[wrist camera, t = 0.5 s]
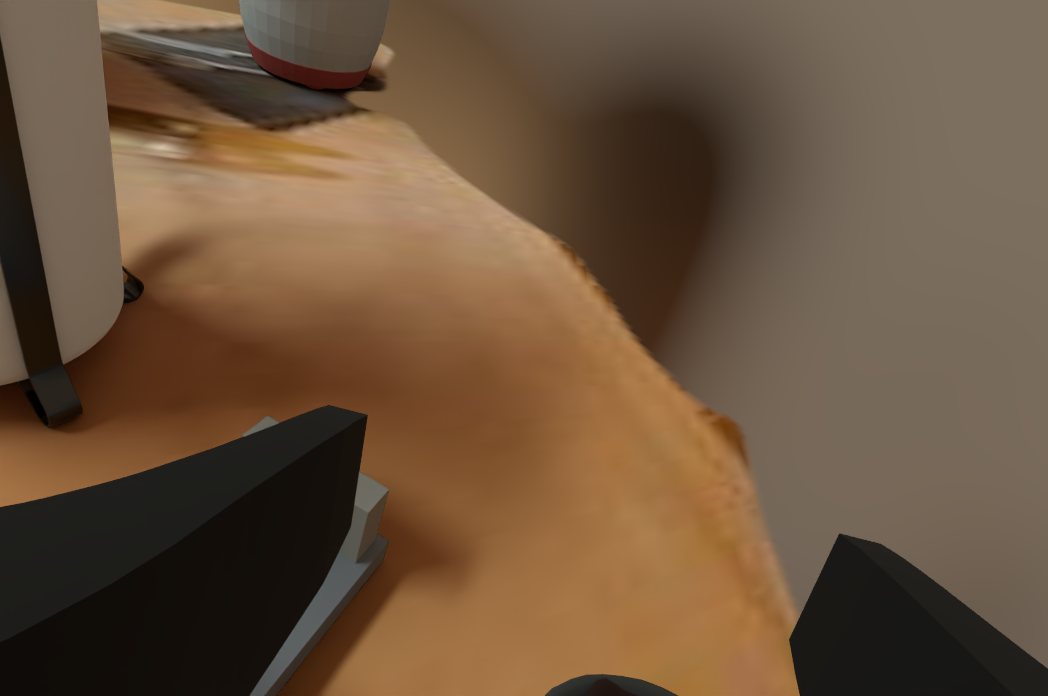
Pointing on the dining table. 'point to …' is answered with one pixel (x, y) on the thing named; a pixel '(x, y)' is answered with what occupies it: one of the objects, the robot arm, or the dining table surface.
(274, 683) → the track
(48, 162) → the coffee press
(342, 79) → the citrus juicer
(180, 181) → the dining table surface
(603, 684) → the sundae
